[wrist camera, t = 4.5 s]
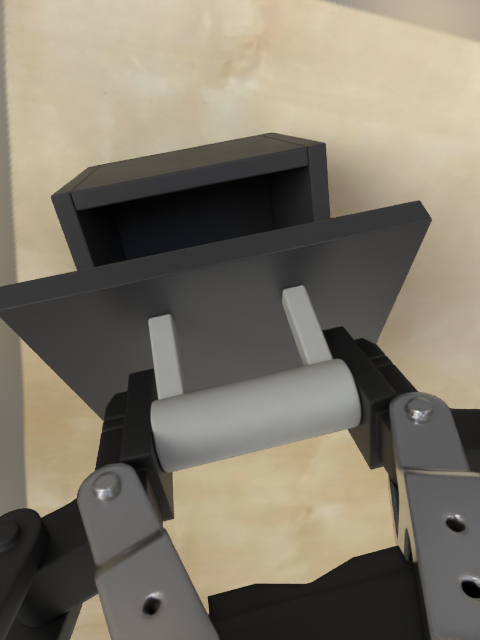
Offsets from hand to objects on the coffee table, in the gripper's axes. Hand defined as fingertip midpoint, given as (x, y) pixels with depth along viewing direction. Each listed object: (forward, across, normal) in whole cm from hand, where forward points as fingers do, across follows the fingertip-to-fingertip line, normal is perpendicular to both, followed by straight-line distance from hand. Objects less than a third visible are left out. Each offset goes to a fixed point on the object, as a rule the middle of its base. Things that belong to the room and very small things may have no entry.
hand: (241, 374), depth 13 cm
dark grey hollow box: (+18, 0, +2) cm, 18 cm away
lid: (+4, 0, +2) cm, 4 cm away
